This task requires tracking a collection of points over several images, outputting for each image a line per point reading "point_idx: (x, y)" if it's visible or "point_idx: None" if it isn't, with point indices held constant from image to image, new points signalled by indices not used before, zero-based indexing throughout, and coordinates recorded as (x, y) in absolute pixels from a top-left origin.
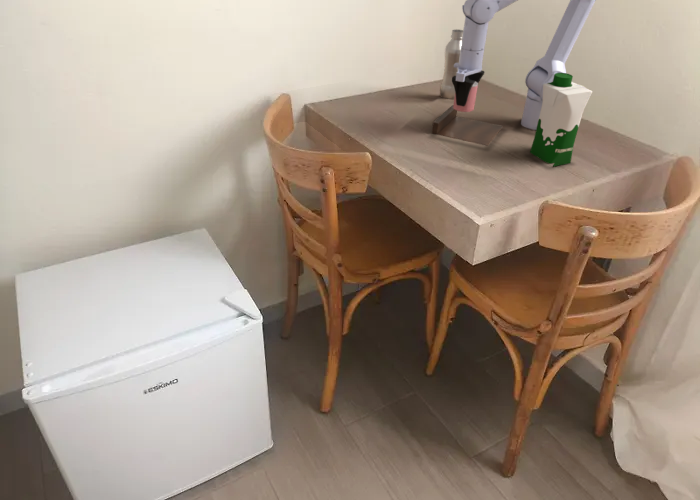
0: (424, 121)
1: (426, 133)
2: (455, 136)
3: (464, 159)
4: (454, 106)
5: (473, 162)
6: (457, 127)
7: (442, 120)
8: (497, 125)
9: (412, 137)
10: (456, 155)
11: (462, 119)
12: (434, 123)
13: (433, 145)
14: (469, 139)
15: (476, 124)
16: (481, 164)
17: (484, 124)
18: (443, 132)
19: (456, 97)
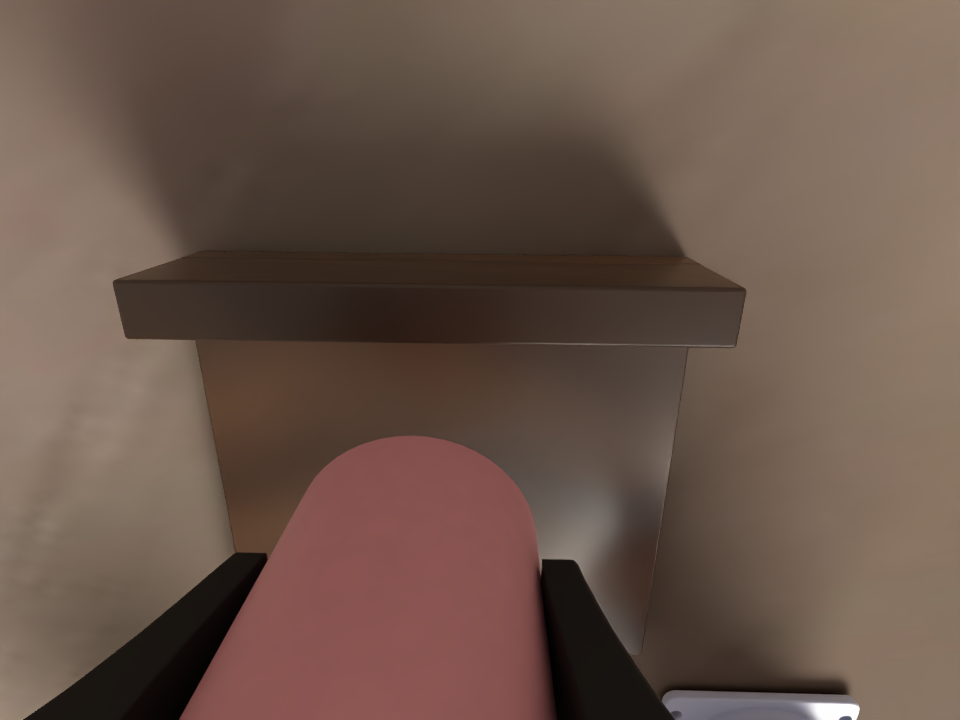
0: (513, 38)
1: (251, 180)
2: (251, 443)
3: (48, 553)
4: (315, 483)
5: (53, 601)
6: (434, 403)
7: (247, 339)
8: (631, 623)
9: (85, 98)
10: (60, 501)
11: (635, 385)
12: (122, 295)
13: (80, 321)
14: (267, 537)
15: (576, 506)
16: (65, 638)
17: (608, 551)
18: (259, 341)
19: (155, 628)
